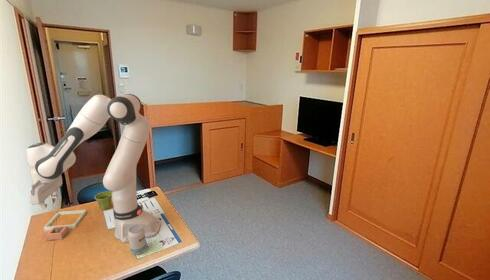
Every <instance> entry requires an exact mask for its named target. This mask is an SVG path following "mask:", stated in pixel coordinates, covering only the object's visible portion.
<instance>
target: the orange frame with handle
mask: <svg viewBox="0 0 490 280" xmlns="http://www.w3.org/2000/svg"><path fill="white" fill-rule="evenodd" d="M58 226H59V225H58ZM55 228H59V233H56V231H55ZM68 230H69V228H68V227H67V226H59V227H53V228H52V229H51V230H44V229H43V231H42V232H41V234H42V238H43V239H46V240H55V239H62V238H63V237H64V236H65V234H66V233H67V232H68Z"/></svg>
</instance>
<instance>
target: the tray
mask: <svg viewBox="0 0 490 280" xmlns="http://www.w3.org/2000/svg"><path fill="white" fill-rule="evenodd" d="M87 213H88V212H87V209H78V210H77V209H76V210H67V211H58V212H57V213H56V214H55V215H54V216H53V217H52V218H51V219H50V220H49V221H48V222H47V223H46V224H45V225H44V226H43V231H44V230H51V229H52V228H53V227H59V226H67V227H68V229H71V228H72V229H73V228H76V227H77V226H78V224H79V223H80V222H81V221H82V219H83V217H84V216H85V215H86V214H87ZM74 214H80V216H79V217H78V218H77V220H76V221H75V222H74V223H72V224H63V225H52V224H53V223H54V221H56V219H57V218H58V217H59V216H62V215H74ZM51 225H52V226H51Z"/></svg>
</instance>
